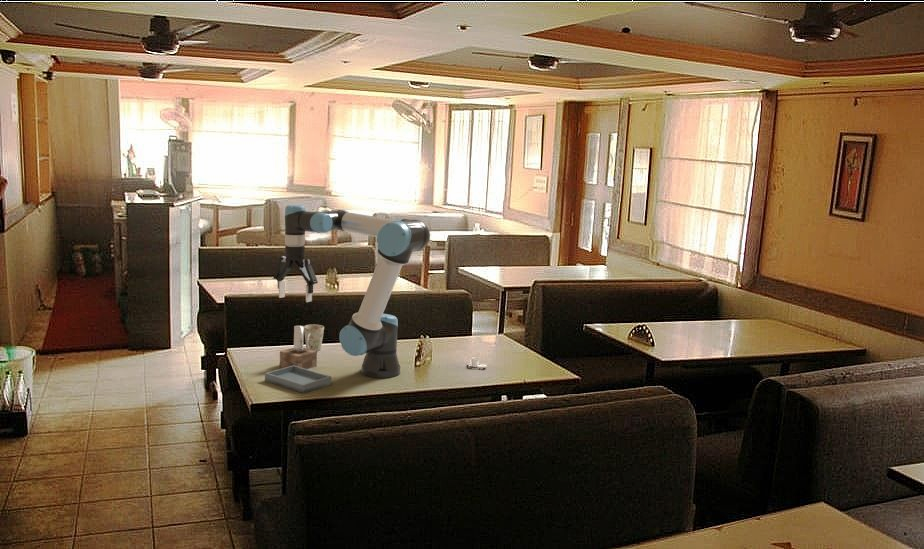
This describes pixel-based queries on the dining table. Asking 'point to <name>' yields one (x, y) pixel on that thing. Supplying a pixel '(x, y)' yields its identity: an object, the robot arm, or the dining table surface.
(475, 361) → the teacup and saucer
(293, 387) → the slate tray
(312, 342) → the mug
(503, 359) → the dining table surface
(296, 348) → the steel pin
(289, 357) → the wooden hollow square frame
